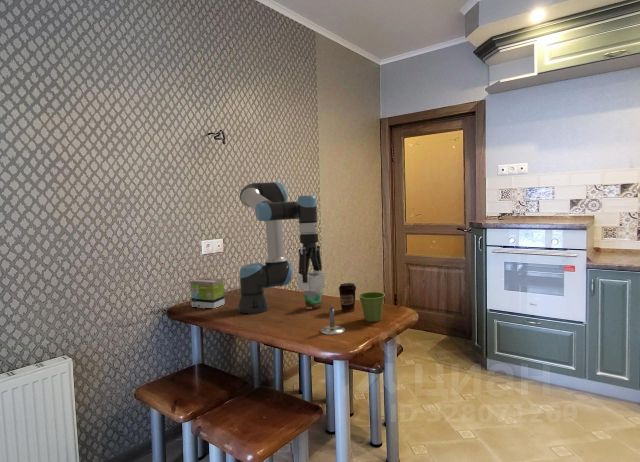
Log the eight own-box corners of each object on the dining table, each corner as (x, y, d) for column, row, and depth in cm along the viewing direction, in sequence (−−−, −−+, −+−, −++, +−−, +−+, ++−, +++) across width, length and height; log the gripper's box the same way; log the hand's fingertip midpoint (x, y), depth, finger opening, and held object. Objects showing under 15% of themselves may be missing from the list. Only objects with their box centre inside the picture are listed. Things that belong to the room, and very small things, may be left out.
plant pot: (365, 314, 180) (364, 291, 179) (390, 317, 174) (389, 292, 173) (354, 322, 170) (353, 296, 169) (380, 325, 164) (379, 299, 163)
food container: (314, 312, 188) (313, 291, 188) (304, 310, 192) (303, 290, 191) (327, 305, 199) (327, 286, 198) (317, 304, 202) (316, 285, 201)
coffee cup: (355, 313, 184) (354, 286, 183) (338, 312, 185) (337, 286, 184) (357, 308, 192) (356, 282, 191) (341, 307, 194) (340, 282, 193)
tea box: (191, 308, 208) (189, 281, 207) (203, 303, 217) (201, 277, 216) (214, 309, 202) (212, 281, 201) (225, 304, 212) (223, 278, 211)
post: (316, 333, 157) (314, 306, 157) (326, 325, 166) (325, 300, 166) (338, 335, 153) (337, 308, 152) (348, 328, 162) (347, 302, 161)
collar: (298, 290, 158) (297, 275, 158) (308, 286, 165) (307, 272, 165) (315, 291, 154) (314, 276, 154) (324, 287, 161) (323, 273, 161)
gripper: (304, 235, 147) (307, 294, 149) (328, 231, 166) (330, 283, 167) (287, 235, 151) (290, 293, 152) (312, 231, 169) (315, 283, 171)
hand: (311, 288), depth 160 cm, fingers closed on collar, 8 cm apart
